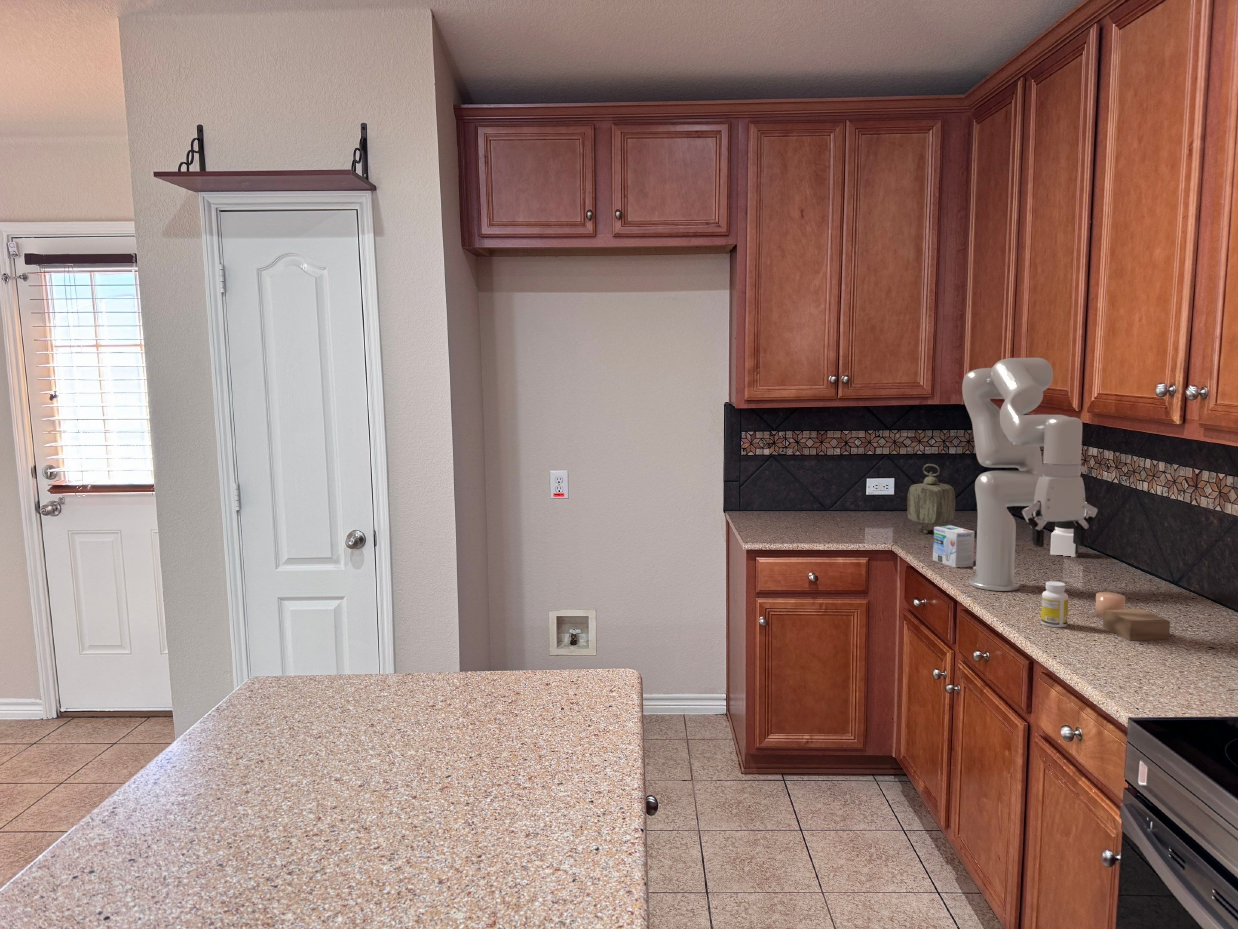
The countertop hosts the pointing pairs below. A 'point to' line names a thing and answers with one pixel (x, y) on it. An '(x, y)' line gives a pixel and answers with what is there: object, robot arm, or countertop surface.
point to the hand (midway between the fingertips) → (1058, 545)
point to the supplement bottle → (1054, 605)
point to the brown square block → (1136, 624)
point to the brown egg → (1108, 602)
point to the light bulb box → (953, 546)
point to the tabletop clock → (931, 502)
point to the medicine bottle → (1063, 539)
